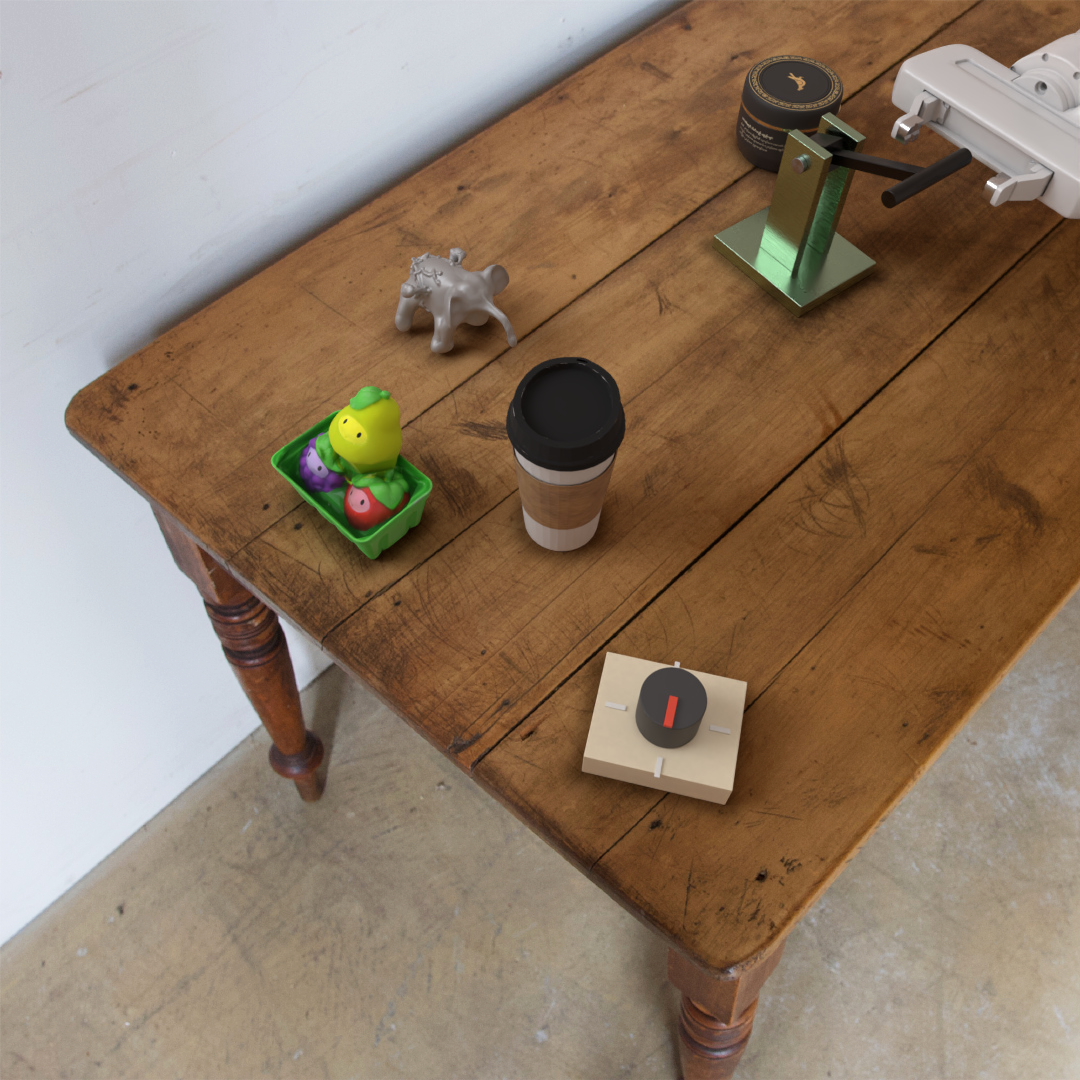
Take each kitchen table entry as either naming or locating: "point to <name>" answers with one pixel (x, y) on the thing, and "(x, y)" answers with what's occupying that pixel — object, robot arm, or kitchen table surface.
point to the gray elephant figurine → (451, 296)
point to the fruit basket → (358, 472)
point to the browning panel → (678, 770)
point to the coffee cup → (564, 448)
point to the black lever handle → (893, 168)
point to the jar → (783, 105)
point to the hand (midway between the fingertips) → (943, 163)
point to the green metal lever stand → (801, 226)
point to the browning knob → (670, 707)
